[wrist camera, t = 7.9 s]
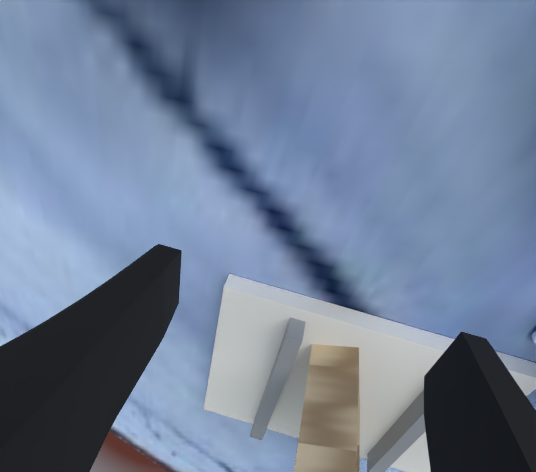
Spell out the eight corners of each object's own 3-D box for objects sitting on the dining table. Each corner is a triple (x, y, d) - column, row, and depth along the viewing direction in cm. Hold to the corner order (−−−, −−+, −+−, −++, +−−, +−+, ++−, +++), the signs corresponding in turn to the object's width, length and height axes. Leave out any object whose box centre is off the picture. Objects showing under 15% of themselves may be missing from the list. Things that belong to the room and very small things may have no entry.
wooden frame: (358, 347, 24) (355, 486, 18) (359, 434, 30) (357, 559, 24) (312, 343, 25) (293, 475, 19) (322, 429, 31) (311, 549, 25)
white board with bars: (538, 363, 23) (555, 404, 21) (424, 463, 33) (427, 497, 31) (229, 273, 24) (216, 304, 22) (207, 396, 34) (197, 425, 32)
